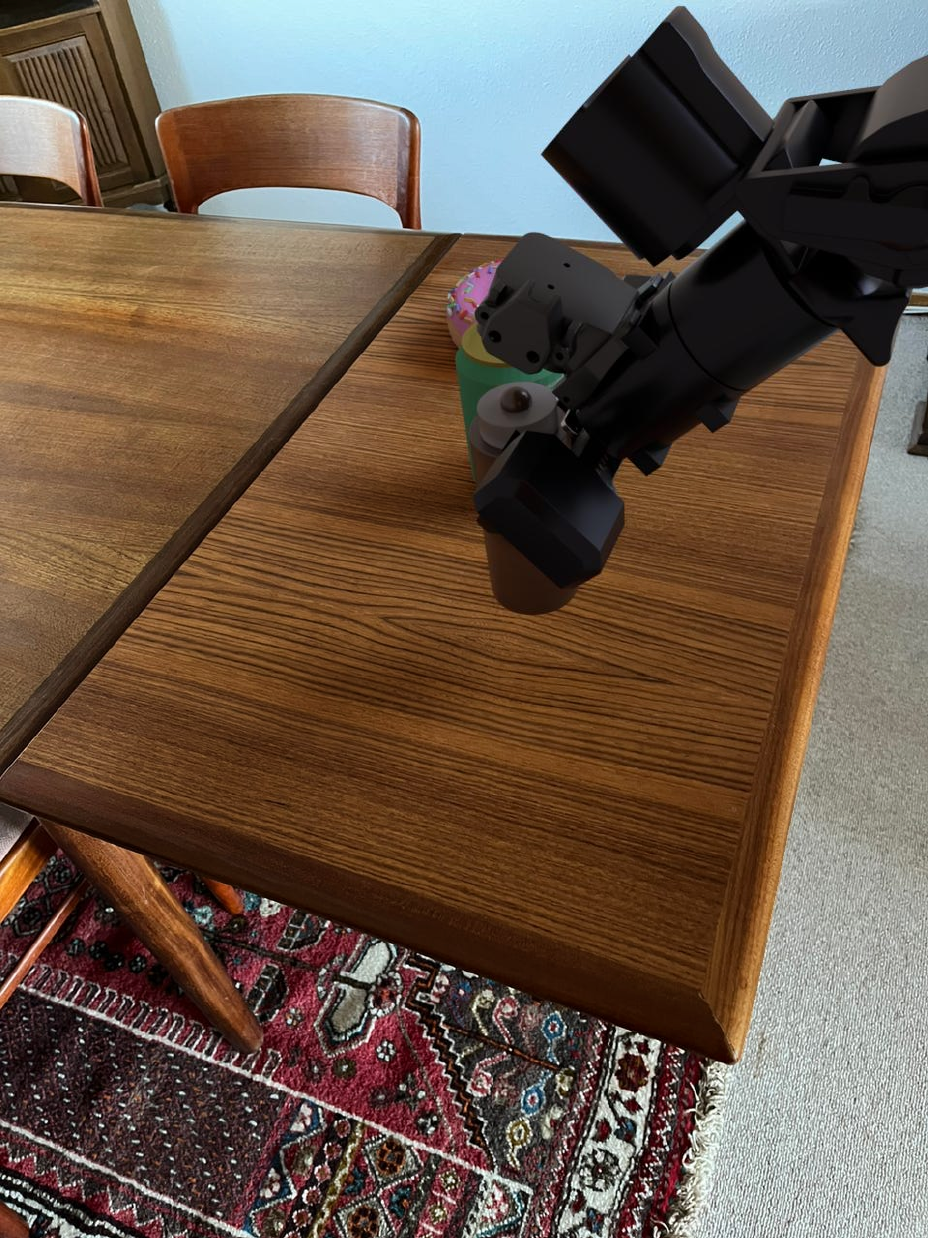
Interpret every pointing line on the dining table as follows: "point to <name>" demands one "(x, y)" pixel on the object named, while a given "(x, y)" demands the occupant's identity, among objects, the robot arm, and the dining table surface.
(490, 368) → the beverage can
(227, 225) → the dining table surface
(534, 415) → the pepper mill
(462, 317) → the donut
